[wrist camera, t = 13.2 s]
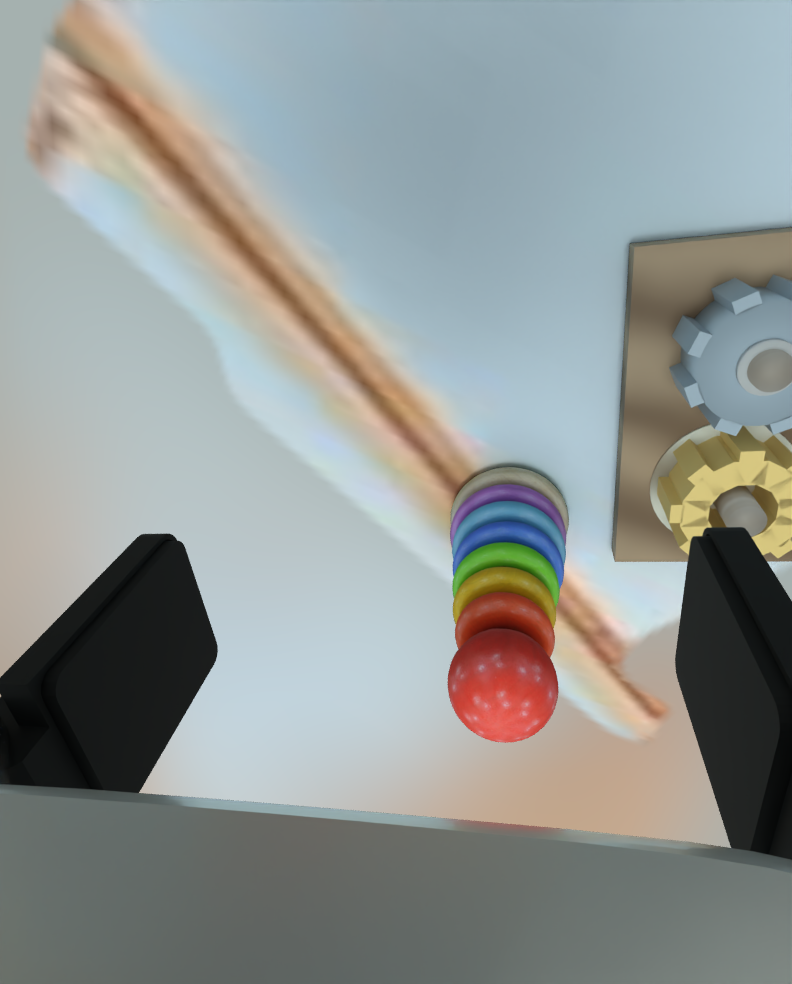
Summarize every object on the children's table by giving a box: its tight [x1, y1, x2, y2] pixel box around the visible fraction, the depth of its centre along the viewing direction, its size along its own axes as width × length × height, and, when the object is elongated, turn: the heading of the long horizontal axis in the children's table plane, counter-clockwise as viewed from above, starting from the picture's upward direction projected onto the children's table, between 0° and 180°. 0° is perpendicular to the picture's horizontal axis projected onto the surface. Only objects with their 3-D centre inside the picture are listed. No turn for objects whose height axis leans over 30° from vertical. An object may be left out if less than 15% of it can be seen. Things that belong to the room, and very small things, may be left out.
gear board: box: [612, 227, 792, 562], centre depth 34 cm, size 20×12×6 cm, turn 7°
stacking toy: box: [448, 467, 569, 743], centre depth 34 cm, size 8×8×19 cm
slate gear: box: [669, 275, 792, 436], centre depth 32 cm, size 8×8×4 cm
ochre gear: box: [657, 425, 792, 558], centre depth 36 cm, size 8×8×4 cm
